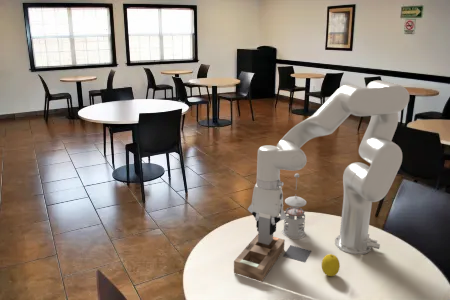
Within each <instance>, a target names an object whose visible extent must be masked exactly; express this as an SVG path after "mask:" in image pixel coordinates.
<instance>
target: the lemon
mask: <svg viewBox="0 0 450 300" xmlns="http://www.w3.org/2000/svg"><path fill="white" fill-rule="evenodd" d="M340 266H341V265H340V260H339V258H338V257H337V255H334V254H332V253H329V254H326V255H325V256H324V257H323V258H322V261H321V270H322V272H323V274H325V275H326V276H328V277H335V276H336V275H337V274H338V273H339V272H340Z"/></svg>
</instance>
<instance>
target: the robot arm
mask: <svg viewBox="0 0 450 300" xmlns="http://www.w3.org/2000/svg"><path fill="white" fill-rule="evenodd" d="M409 102H410V93H409V91H408V90H407V88H406V87H404V86H403V85H401V84H398V83H394V82H389V81H385V80H379V79H377V80H373V81H370V82H369V83H368V84H367V85H366V86H365V87H361V86H359V85H354V84H344V85H341V86H340V87H339V88H337V89H336V90H335V91H334V92H333V94H331V95H330V96H329V98H327V100H326V101H325V102H323V104H322V105H321V106H320V107H319V108H318V109H316V111H315V112H314V113H313V114H312V115H311V116H309V117H308V118H306V119H304V120H302V121H301V122H299V123H297V124H296V125H294V126H293V127H292V128H291V129H290V130H288V131H287V133H285V134H284V136H283V137H282V138H281V139H280V140H279V141H278V143H277V144H276V145H270V144H269V145H267V144H266V145H262V146H260V147H259V148H258V149H257V159H256V160H257V162H256V183H255V184H254V187H253V190H252V191H253V192H252V199H251V203H250V205H249V206H248V207H247V211H248V212H249V213H251V215H252V216H253V217H254V218H255V222H256V226H255V227H256V231H257V232H258V228H259V212H260V213H263V214H267V215H270V216H271V225H270V235H272V234H273V235H274V233H275V232H276V231H277V223H279V222H280V221H281V222H282V221H284V220H285V218H286V217H287V216H288V215H287V214H285V212H286V211H285V210H284V194H283V186H284V182H283V181H281V177H280V176H281V175H280V174H281V170H283V171H284V170H285V171H292V172H294V171H300V170H302V169H303V168H305V166H306V165H307V160H308V159H307V155H306V154H305V151H303V150H302V149H301V148H302V147H303V146H304V145H305V144H306V143H307V142H308V141H310V140H312V139H315V138H319V137H324V136H328V135H331V134H333V133H334V132H335V131H336V130H337V129H338V127H340V125H342V123H344V121H345V120H347V119H348V118H349V116H350V115H352V116H354V117H355V116H356V117H369V116H370V121H369V123H368V126H367V128H366V130H365V132H364V134H363V137H362V139H361V142H360V144H359V147H358V155H359V156H360V158H361V159H363V160H364V161H366V162H367V163H369V164H370V165H368V164H366V163H364V162H358V161H356V162H352V163H350V164H349V165H347V167H345V169H344V171H343V176H342V184H343V201H342V211H341V219H340V220H341V222H340V228H339V229H340V230H339V235H337V236H336V237H335V238H334V245H335V246H336V247H337V249H339V250H340V251H342V252H344V253H347V254H351V255H365V254H368V253H369V252H371V250H372V248H373V249H376V250H380V247H381V244H380V243H378V240H375V239H371V237H370V233H369V229H370V220H371V213H372V205H373V203H377V202H379V201H381V200H383V199H384V198H385V197H386V195H388V193H389V191H390V189H391V187H392V185H393V183H394V181H395V178H396V176H397V174H398V171H399V170H400V168H401V165H402V164H403V163H402V162H403V152H402V149H401V147H400V146H399V145H398V144H396V143H395V142H393V141H392V140H393V137H394V135H395V132H396V130H397V127H398V123H399V112H401V111H403V110H404V109H405V108H406V107H407V105H408V104H409Z"/></svg>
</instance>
